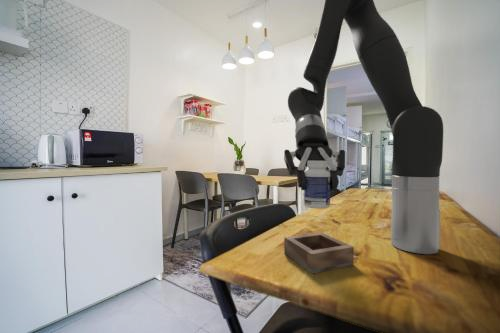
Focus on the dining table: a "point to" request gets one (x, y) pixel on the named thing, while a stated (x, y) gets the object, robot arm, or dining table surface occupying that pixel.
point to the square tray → (318, 252)
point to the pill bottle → (317, 185)
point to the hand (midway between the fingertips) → (318, 187)
